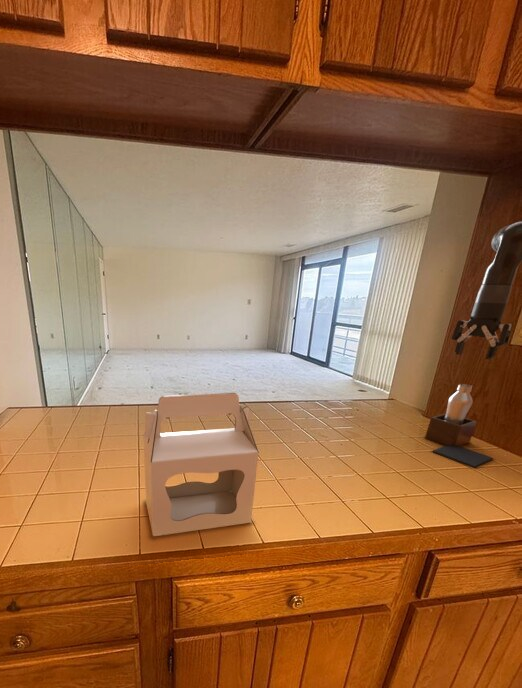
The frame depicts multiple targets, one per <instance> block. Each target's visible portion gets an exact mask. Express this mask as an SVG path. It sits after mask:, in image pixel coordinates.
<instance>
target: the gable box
mask: <svg viewBox="0 0 522 688" xmlns="http://www.w3.org/2000/svg"><path fill="white" fill-rule="evenodd" d="M223 415H226V416H231V415H233V417H234V427H230V428H228V427H227V428H215V429H204V430H203V429H201V430H190V431H174V432H162V429H161V427H162V426H161V425H162V422H163V421H164V420H165V419H166V420H169V419H175V418H176V419H178V418H193V417H208V416H209V417H210V416H223ZM161 432H162V433H161ZM142 437H143V462H144V487H145V488H144V489H145V504H146V509H147V515H148V520H149V523H150V528H151V534H152V537H160V536H167V535H173V534H174V535H175V534H181V533H187V532H188V533H189V532H194V531H200V530H208V529H215V528H222V527H229V526H237V525H243V524H250V523H252V518H253V508H254V499H255V489H256V488H255V487H256V479H257V470H258V469H257V468H258V462H259V461H258V460H259V449H258V447H257V444H256V440H255V439H254V434H253V433H252V430H251V427H250V407H249V406H243V407H242V406H241V405H240V397H239V394H238V393H236V392H220V393H202V394H201V393H197V394H179V395H177V394H176V395H162V396H160V397H159V399H158V402H157V409H154V410H153V412H149V411H147V412H146V413H145V430H144V433H143V435H142ZM189 473H190V474H215V473H216V474H217V473H218V476H217V477H218V478H217V479H216V480H215V481H212V482H204V481H187V482H183V483H180V484H176V485H172V486H166V484H167V481H168V480H169V479H171V478H172V477H174V476H177V475H182V474H189Z"/></svg>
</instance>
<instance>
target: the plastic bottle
mask: <svg viewBox="0 0 522 688" xmlns="http://www.w3.org/2000/svg"><path fill="white" fill-rule="evenodd" d="M472 389H473V385H471V384H470V385H469V384H465V383H458V385H457V388H456V391H455V392H453V394H451V395H450V396H449V398H448V402H447V406H446V411H445V413H446V415H445V418H444V421H447V422H451V423H454V424H457V425H463V421H464V419H465V418H466V416H467V414H468V412H469V410H470V409H471V408H472V405H473V403H474V401H473V397H472V395H471V392H472Z"/></svg>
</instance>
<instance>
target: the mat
mask: <svg viewBox="0 0 522 688" xmlns="http://www.w3.org/2000/svg"><path fill="white" fill-rule="evenodd" d="M432 453H434V454H436V455H439V456H441V457H444V458H447V459H449V460H452V461H455V462H457V463H460V464H463V465H466V466H469V467H471V468H472V469H473V468H474V469H475V468H477V467H479V466H481V465H484V464H485V463H488V462H490V461H492V460H494V457H492V456H489V455H486V454H484V453H480V452H478V451H474V450H472V449H469V448H466V447H463V446H455V447H453V446H450V445H447V446H445V445H443V446H441V447H439V448H437V449H434V450H432Z"/></svg>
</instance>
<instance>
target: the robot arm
mask: <svg viewBox="0 0 522 688" xmlns="http://www.w3.org/2000/svg"><path fill="white" fill-rule="evenodd" d="M490 245H491V248H492V250H493V251H495V252H496V254H495V256H494V259H493V261H492V262H491V263H490V264H489V265H488V266H487V267H486V270H485V272H484V276H483V279H482V283H481V285H480V287H479V289H478V292H477V295H476V297H475V301H474V304H473V307H472V311H471V313H470V319H469V320H465V319H460V320H457V322H456V325H455V328H454V330H453V333H452V336H451V340H452V341H453V340H454V341H456V346H455V349H454V352H455V355H457V356H461V355H462V354H463V351H464V348H465V345H466V341H467V340H468V339H470V338H472V337H479V338H486V340H487V341H488V342H489V345H490V346H489V347H488V350H487V353H486V356H485V360H492V359H493V358H495V356H496V355H497V352H498V349H499V347H501V346H502V347H503V346H507V345H508V343H509V340H510V337H511V334H512V330H513V327H514V325H513V324H512V323H501V321H502V319H503V316H504V313H505V311H506V308H507V305H508V302H509V299H510V296H511V292H512V288H513V284H514V281H515V279H516V275H517V272H518V270H519V267H520V265H521V263H522V221H517V222H514V223H511V224H508V225H506V226H503V227H501V229H499V230H497V232H496V233H495V234H494V235H493V236H492V239H491V243H490ZM466 327H467V330H466V331H465V332H464V333H463V331H464V329H465V328H466ZM498 330H499V331H500V332H501V333H500V337H499V338H498V334H497V331H498Z"/></svg>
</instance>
